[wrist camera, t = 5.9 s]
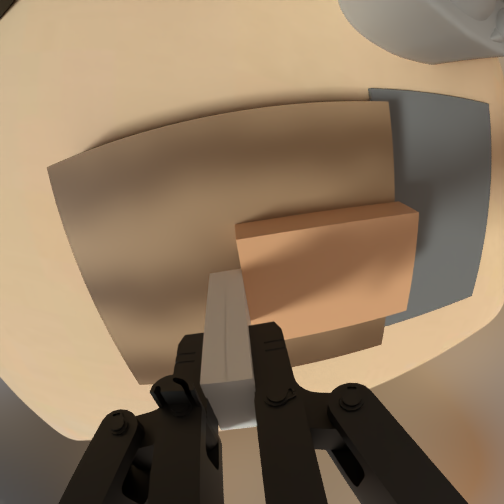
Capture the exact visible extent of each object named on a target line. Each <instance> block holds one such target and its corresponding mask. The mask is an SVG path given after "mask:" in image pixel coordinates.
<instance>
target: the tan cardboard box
mask: <svg viewBox="0 0 504 504" xmlns="http://www.w3.org/2000/svg"><path fill="white" fill-rule="evenodd" d="M418 221H419V212H418V211H416V210H414V209H412V208H410V207H409V206H407V205H405V204H403V203H401V202H399V201H397V202H390V203H382V204H373V205H365V206H357V207H350V208H342V209H334V210H327V211H320V212H313V213H306V214H299V215H292V216H286V217H279V218H272V219H266V220H260V221H253V222H247V223H241V224H235V234H236V243H237V248H238V254H239V260H240V265H241V271H242V276H243V282H244V288H245V293H246V299H247V304H248V309H249V315H250V320H251V325H255V324H261V323H267V322H273V321H274V322H275V323H276V324H277V325H278V326H279V327H280V328H281V329H282V332H283V336H284V340H287V339H292V338H297V337H302V336H307V335H312V334H317V333H321V332H326V331H330V330H335V329H339V328H343V327H347V326H351V325H355V324H359V323H363V322H367V321H371V320H375V319H378V318H382V317H386V316H389V315H393V314H396V313H400V312H403V311H406V310H407V305H408V299H409V294H410V288H411V282H412V275H413V268H414V261H415V253H416V244H417V234H418Z"/></svg>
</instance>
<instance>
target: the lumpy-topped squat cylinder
mask: <svg viewBox="0 0 504 504" xmlns="http://www.w3.org/2000/svg"><path fill="white" fill-rule="evenodd" d="M338 2H339V5H340V8H341V10H342V12H343V14H344V16H345V17H346V19H347V20H348V22H349V23H350V24H351V25H352V26H353V27H354V28H355V29H356V30H357V31H358V32H359V33H360V34H361V35H362V36H364V37H365V38H366V39H368V40H369V41H371V42H372V43H374V44H375V45H377V46H379V47H381V48H382V49H384V50H386V51H388V52H390V53H392V54H394V55H396V56H399V57H402V58H405V59H409V60H412V61H416V62H421V63H425V64H431V65H433V64H440V63H446V62H453V61H460V60H469V59H478V58H490V57H503V56H504V0H338Z"/></svg>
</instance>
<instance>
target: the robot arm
mask: <svg viewBox="0 0 504 504" xmlns="http://www.w3.org/2000/svg"><path fill="white" fill-rule="evenodd" d="M13 1H14V0H0V17H1V16H2V15H3V14H4V12H5V11H6V10H7V9H8V7H9V6H10V5H11V4H12V2H13ZM150 394H151V395H152V397H153V398H154V400H155V401H156V403H157V405H158V406H159V408H158V409H157V410H154V411H152V412H149V413H145V414H142V415H138V416H135V415H134V414H133V413H132V412H130V411H128V410H121V409H120V410H116V411H113V412H111V413H109V414H108V415H107V416H106V417H105V418H104V419H103V421H102V422H101V424H100V426H99V428H98V429H97V431H96V433H95V435H94V437H93V439H92V440H91V442H90V444H89V446H88V448H87V450H86V451H85V453H84V455H83V457H82V459H81V461H80V463H79V464H78V466H77V468H76V470H75V472H74V474H73V476H72V478H71V480H70V482H69V484H68V486H67V488H66V490H65V492H64V494H63V496H62V498H61V500H60V502H59V504H224V496H223V495H224V494H223V471H222V470H223V469H222V443H221V440H220V437H219V435H218V425H219V427H220V429H221V430H229V429H239V428H248V427H255V426H257V431H258V441H259V449H260V458H261V467H262V475H263V483H264V491H265V500H266V504H328V503H327V498H326V494H325V490H324V486H323V482H322V478H321V474H320V470H319V466H318V462H317V457H316V453H315V449H321V450H323V449H324V450H326V451H327V452H328V454H329V455H330V457H331V458H332V460H333V461H334V463H335V465H336V466H337V468H338V469H339V471H340V472H341V474H342V475H343V477H344V479H345V480H346V482H347V483H348V485H349V486H350V488H351V489H352V491H353V492H354V494H355V495H356V497H357V498H358V500H359V501H360V503H361V504H468V503H467V502H466V500H465V499H464V498H463V497H462V496H461V495H460V493H459V492H458V491H457V490H456V489H455V488H454V487H453V486H452V484H451V483H450V482H449V481H448V480H447V479H446V477H445V476H444V475H443V474H442V473H441V471H440V470H439V469H438V468H437V467H436V466H435V465H434V463H432V461H431V460H430V459H429V458H428V456H427V455H426V454H425V453H424V452H423V451H422V449H421V448H420V447H419V446H418V445H417V444H416V442H415V441H414V440H413V439H412V438H411V437H410V436H409V434H407V432H406V431H405V430H404V429H403V427H402V426H401V425H400V424H399V423H398V422H397V420H396V419H395V418H394V417H393V416H392V415H391V413H390V412H389V411H388V410H387V409H386V408H385V406H384V405H383V404H382V403H381V402H380V401H379V400H378V398H377V397H376V396H375V395H374V394H373V393H372V391H370V389H368V388H367V387H366V386H364V385H361V384H358V383H346V384H343V385H340V386H338V387H337V388H335V389H334V390H333V391H332V392H331V393H317V392H311V391H308V390H305V389H303V388H302V387H300V386H299V385H298V383H297V382H296V381H295V378H294V375H293V371H292V367H291V363H290V359H289V356H288V352H287V348H286V344H285V340H284V336H283V332H282V329H281V328H280V327H279V326H278V325H277V324H276V323H275V322H274V321H273V322H267V323H261V324H255V325H251V321H250V315H249V309H248V304H247V299H246V293H245V288H244V282H243V276H242V271H241V269H236V270H229V271H223V272H217V273H210V277H209V286H208V296H207V306H206V316H205V327H204V333H196V334H188V335H184V337H183V338H182V340H181V341H180V343H179V344H178V349H177V356H176V360H175V366H174V372H173V375H168V376H165V377H163V378H161V379H159V380H158V381H157V382H156V383H155V384H154V385H153V386H152V388H151V390H150Z"/></svg>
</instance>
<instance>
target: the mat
mask: <svg viewBox="0 0 504 504" xmlns="http://www.w3.org/2000/svg"><path fill="white" fill-rule="evenodd" d="M368 91H369V97H370V101H386V102H389V110H390V119H391V129H392V142H393V157H394V186H395V202H397V201H399V202H401V203H403V204H405V205H407V206H409V207H410V208H412V209H414V210H416V211H418V212H419V221H418V234H417V244H416V253H415V261H414V268H413V275H412V282H411V288H410V294H409V299H408V305H407V310H406V311H403V312H400V313H396V314H393V315H389V316H386V319H385V326H388V325H391V324H395V323H398V322H401V321H404V320H407V319H410V318H413V317H416V316H419V315H422V314H425V313H428V312H431V311H434V310H436V309H439V308H442V307H444V306H447V305H450V304H452V303H455V302H458V301H460V300H463V299H465V298H468V297H470V296H472V293H473V289H474V286H475V282H476V278H477V273H478V269H479V265H480V260H481V255H482V250H483V244H484V238H485V232H486V225H487V217H488V208H489V198H490V184H491V127H490V113H489V104H487V103H483V102H478V101H474V100H469V99H464V98H458V97H452V96H446V95H440V94H433V93H425V92H416V91H406V90H393V89H374V88H370V89H368ZM385 326H384V327H385Z"/></svg>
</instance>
